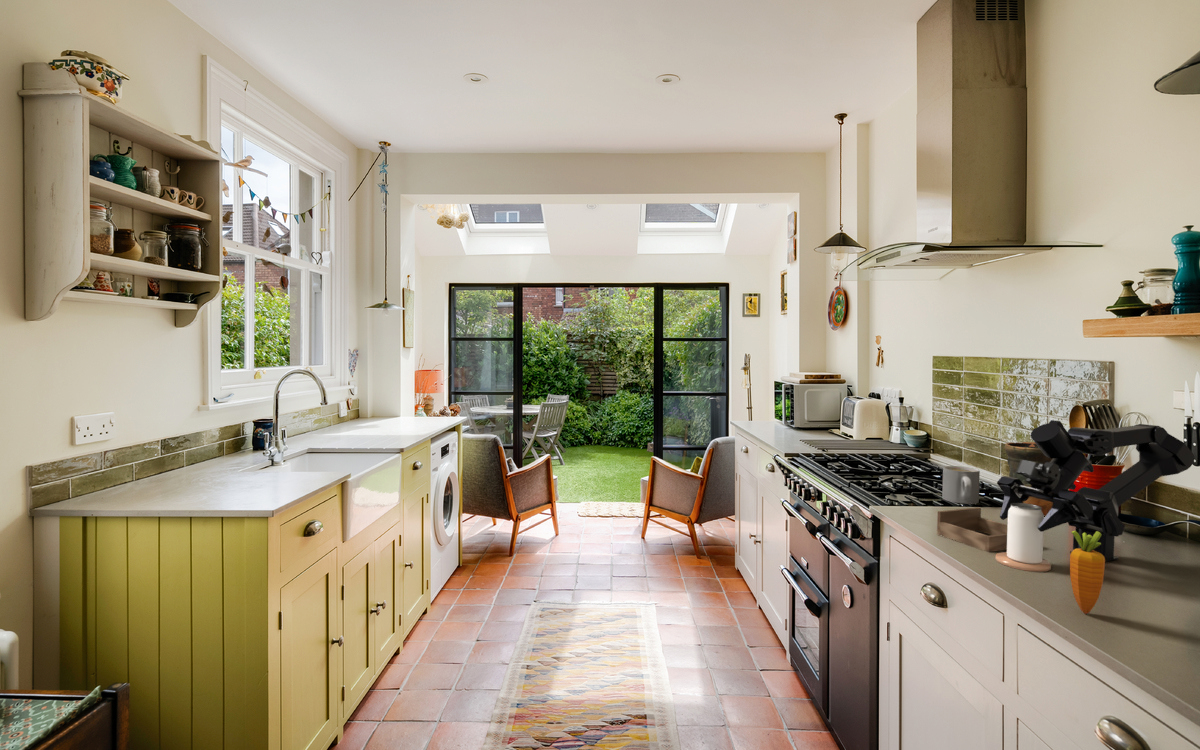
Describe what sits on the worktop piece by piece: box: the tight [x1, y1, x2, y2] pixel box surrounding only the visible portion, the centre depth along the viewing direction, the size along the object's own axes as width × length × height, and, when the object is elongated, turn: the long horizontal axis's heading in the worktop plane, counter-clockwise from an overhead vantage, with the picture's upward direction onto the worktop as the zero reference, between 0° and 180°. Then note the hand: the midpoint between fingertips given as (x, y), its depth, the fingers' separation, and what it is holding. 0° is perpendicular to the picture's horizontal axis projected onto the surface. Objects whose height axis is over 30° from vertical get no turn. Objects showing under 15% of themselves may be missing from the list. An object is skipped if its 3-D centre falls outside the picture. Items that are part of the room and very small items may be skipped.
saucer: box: [995, 551, 1052, 573], centre depth 132 cm, size 10×10×1 cm
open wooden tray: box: [936, 506, 1008, 553], centre depth 148 cm, size 14×14×6 cm
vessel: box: [1004, 441, 1053, 516], centre depth 176 cm, size 14×14×20 cm
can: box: [1006, 503, 1045, 564], centre depth 131 cm, size 6×6×12 cm
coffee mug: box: [941, 465, 981, 505], centre depth 188 cm, size 13×10×10 cm
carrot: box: [1069, 530, 1106, 615], centre depth 106 cm, size 5×5×15 cm
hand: (1019, 524), depth 131 cm, fingers open, 9 cm apart
